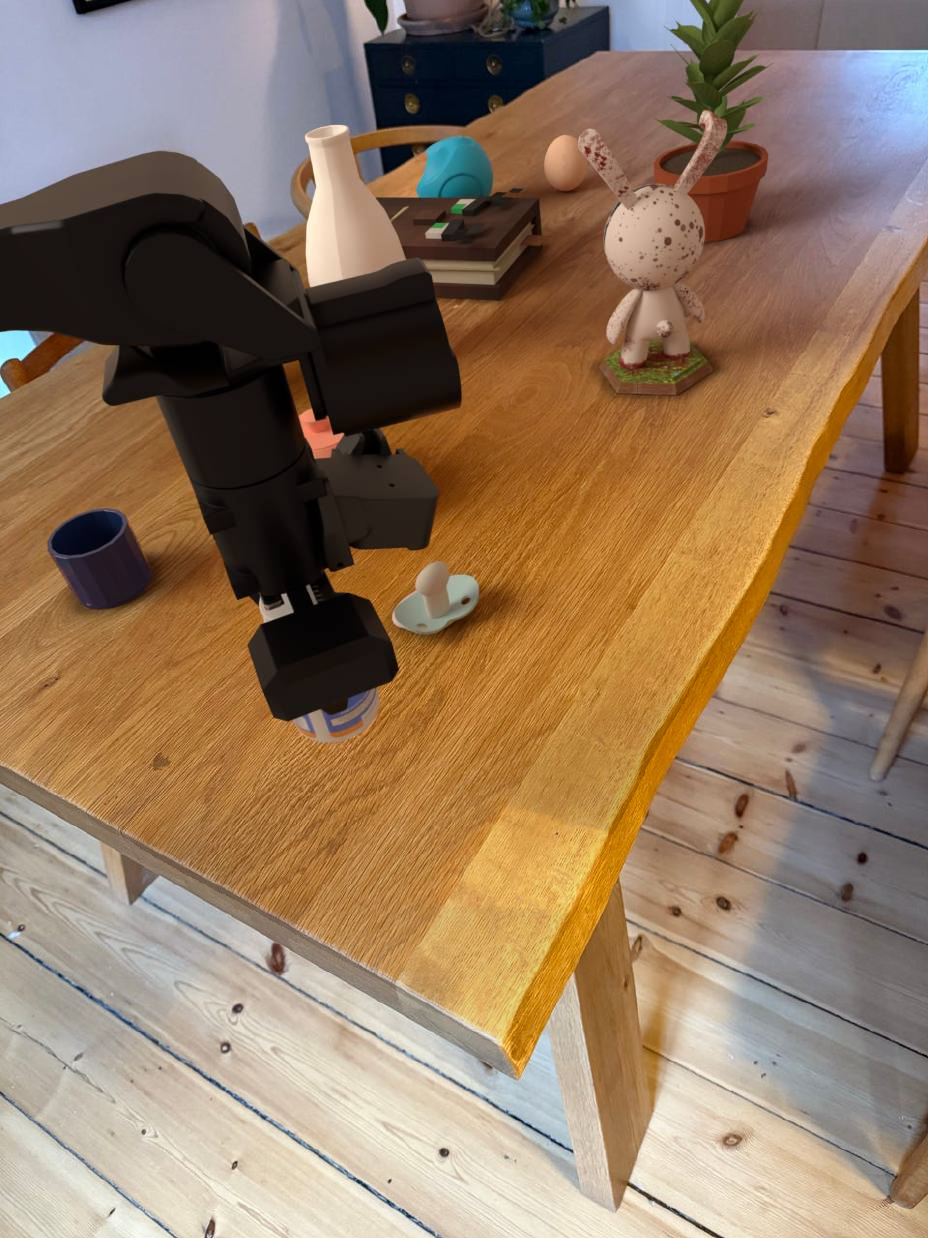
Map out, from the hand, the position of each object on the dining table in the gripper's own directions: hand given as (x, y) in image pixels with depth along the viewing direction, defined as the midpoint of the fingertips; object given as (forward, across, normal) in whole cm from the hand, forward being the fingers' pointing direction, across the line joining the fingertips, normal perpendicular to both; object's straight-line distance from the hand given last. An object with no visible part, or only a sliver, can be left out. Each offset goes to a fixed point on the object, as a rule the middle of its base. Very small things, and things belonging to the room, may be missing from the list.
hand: (325, 678), depth 53 cm
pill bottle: (+3, 0, 0) cm, 3 cm away
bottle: (+12, +60, -20) cm, 64 cm away
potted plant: (+12, +68, -71) cm, 99 cm away
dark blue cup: (+12, +34, +14) cm, 39 cm away
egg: (+12, +96, -64) cm, 116 cm away
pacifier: (+12, +15, -11) cm, 22 cm away
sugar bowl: (+12, +35, -8) cm, 38 cm away
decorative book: (+12, +81, -36) cm, 89 cm away
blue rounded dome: (+12, +97, -46) cm, 108 cm away
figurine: (+12, +39, -46) cm, 61 cm away
